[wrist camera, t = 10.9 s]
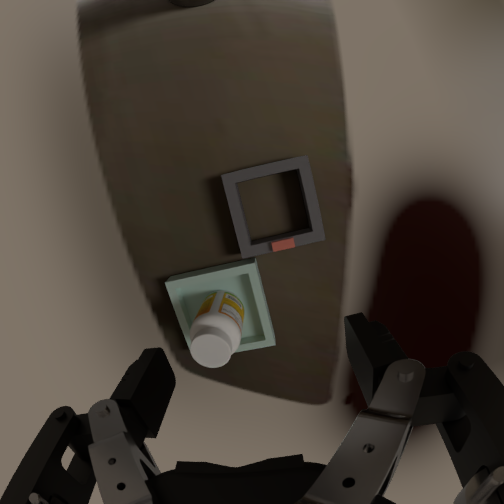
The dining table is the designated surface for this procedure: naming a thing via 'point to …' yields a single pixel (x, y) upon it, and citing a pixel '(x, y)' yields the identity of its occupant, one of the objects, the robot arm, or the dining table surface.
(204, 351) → the supplement bottle
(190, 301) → the tray
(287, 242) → the socket collar
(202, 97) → the dining table surface
